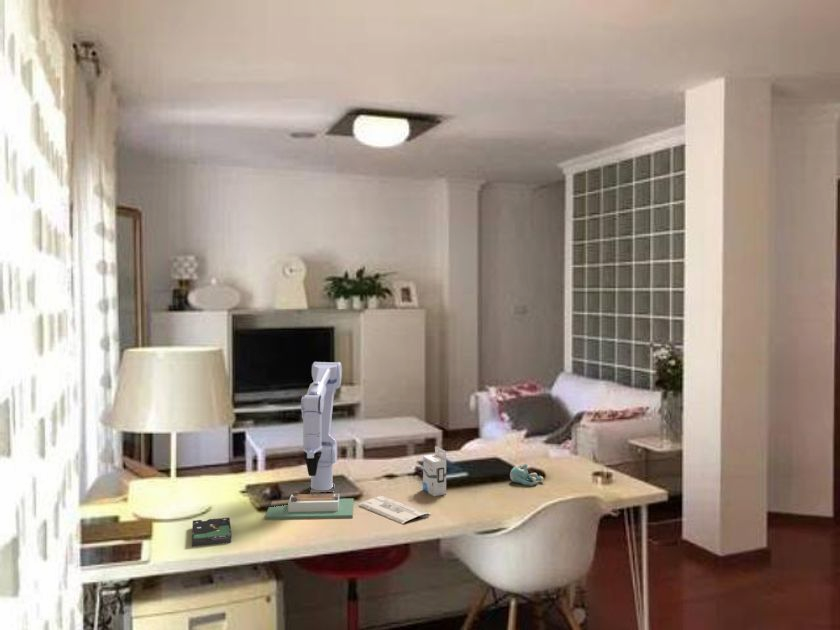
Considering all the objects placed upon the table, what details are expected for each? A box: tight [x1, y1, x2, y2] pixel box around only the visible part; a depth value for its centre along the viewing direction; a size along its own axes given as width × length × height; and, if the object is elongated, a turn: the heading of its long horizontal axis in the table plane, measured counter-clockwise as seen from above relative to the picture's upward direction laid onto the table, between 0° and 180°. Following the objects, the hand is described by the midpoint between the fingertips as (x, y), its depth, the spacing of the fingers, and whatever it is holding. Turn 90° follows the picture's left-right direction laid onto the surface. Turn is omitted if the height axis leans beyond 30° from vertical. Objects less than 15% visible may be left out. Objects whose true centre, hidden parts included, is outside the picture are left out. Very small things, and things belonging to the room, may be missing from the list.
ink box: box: [422, 445, 447, 497], centre depth 231 cm, size 8×5×15 cm, turn 26°
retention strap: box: [295, 493, 335, 500], centre depth 212 cm, size 4×12×1 cm, turn 94°
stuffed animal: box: [509, 463, 545, 487], centre depth 243 cm, size 11×7×12 cm
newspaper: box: [358, 495, 432, 525], centre depth 213 cm, size 23×12×2 cm, turn 42°
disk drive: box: [191, 517, 232, 548], centre depth 191 cm, size 10×3×15 cm
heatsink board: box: [264, 491, 355, 520], centre depth 212 cm, size 16×26×5 cm, turn 94°
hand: (312, 475), depth 217 cm, fingers closed
